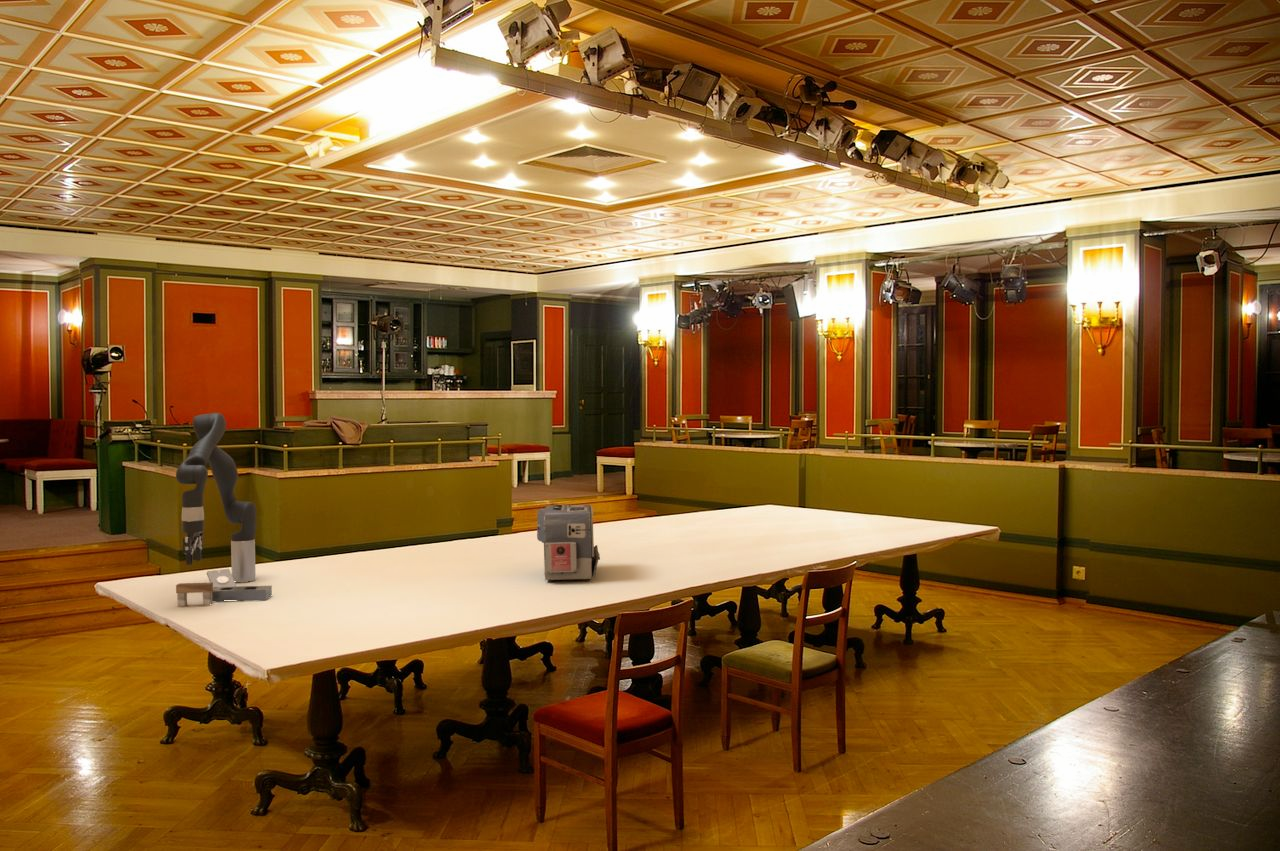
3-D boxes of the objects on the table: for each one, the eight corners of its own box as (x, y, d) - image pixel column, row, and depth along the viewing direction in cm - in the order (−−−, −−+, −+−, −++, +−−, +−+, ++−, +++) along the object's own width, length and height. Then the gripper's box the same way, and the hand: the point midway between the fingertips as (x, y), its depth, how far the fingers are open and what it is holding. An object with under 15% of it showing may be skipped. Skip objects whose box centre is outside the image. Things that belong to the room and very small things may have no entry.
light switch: (215, 591, 367) (206, 569, 377) (214, 603, 369) (205, 581, 379) (238, 588, 372) (229, 566, 382) (237, 600, 375) (227, 578, 384)
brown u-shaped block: (179, 604, 352) (179, 583, 352) (213, 603, 354) (212, 582, 353) (176, 606, 349) (176, 585, 349) (210, 605, 350) (209, 584, 350)
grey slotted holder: (212, 597, 364) (212, 587, 364) (271, 595, 367) (271, 585, 367) (205, 602, 357) (205, 591, 356) (265, 600, 359) (265, 589, 359)
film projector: (598, 585, 384) (597, 511, 383) (526, 585, 385) (525, 511, 383) (604, 566, 423) (603, 500, 422) (538, 567, 424) (538, 500, 423)
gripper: (189, 516, 357) (190, 559, 357) (175, 521, 343) (175, 566, 343) (210, 516, 358) (210, 559, 358) (196, 521, 344) (197, 565, 344)
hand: (193, 562), depth 351 cm, fingers open, 8 cm apart
